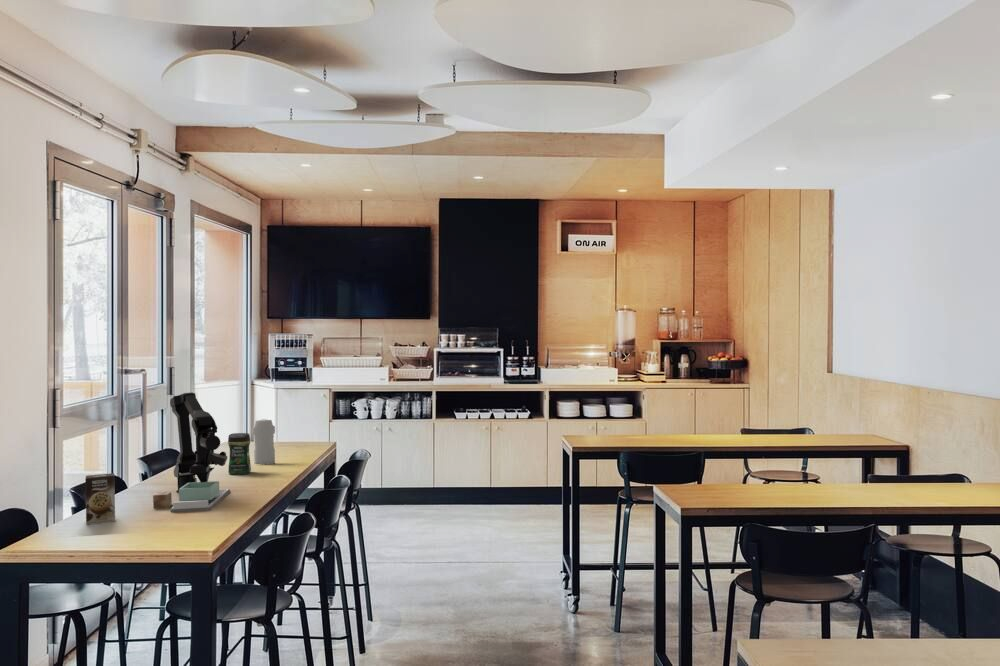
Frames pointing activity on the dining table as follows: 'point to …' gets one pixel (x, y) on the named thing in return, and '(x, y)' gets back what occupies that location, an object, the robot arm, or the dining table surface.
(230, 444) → the coffee jar
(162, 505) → the block
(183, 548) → the dining table surface
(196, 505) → the rail board
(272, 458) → the tall pale column
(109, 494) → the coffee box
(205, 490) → the sage green storage bin
